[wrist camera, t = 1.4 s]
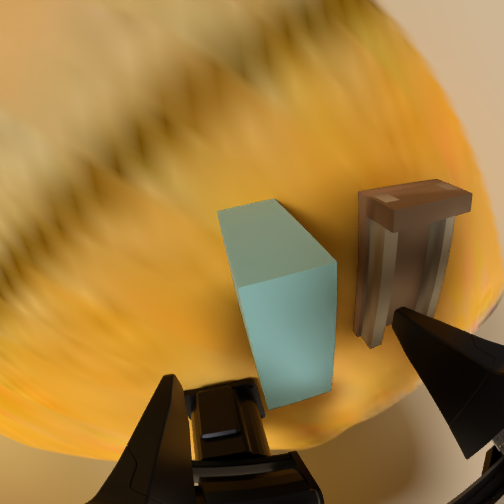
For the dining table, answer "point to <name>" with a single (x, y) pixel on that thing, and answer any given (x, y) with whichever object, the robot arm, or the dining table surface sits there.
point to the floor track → (403, 251)
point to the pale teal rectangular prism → (283, 299)
